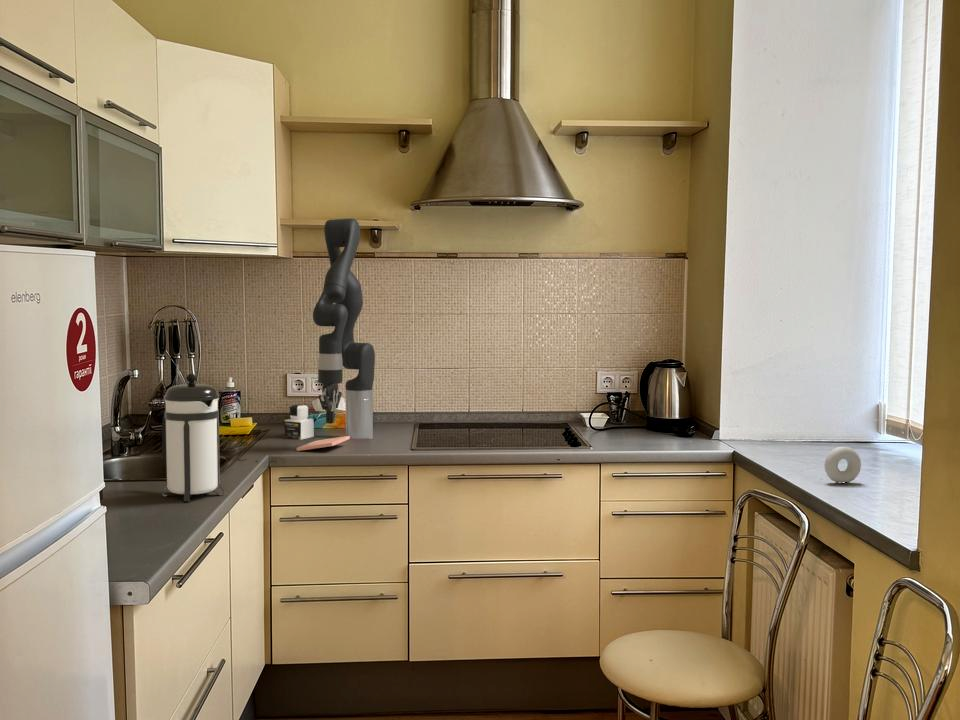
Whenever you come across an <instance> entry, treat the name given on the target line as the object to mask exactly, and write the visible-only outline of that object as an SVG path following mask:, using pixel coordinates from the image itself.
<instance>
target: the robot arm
mask: <svg viewBox="0 0 960 720" xmlns="http://www.w3.org/2000/svg"><path fill="white" fill-rule="evenodd" d="M323 228H324V229H323V230H324V233H323V234H324V241H325V245H326V250H327V254H328V258H329V264H330V267H329V269H328V270H327V272H326V275H325V276H324V277H325V278H324V283H323V290H322V292H321V295H320V296H319V298H318V301H317V302H316V304H315V306H314V307H313V308H314V309H313V312H312V320H313V322H314V324H315V325H316V326H318V327H331V328H332V327H334V329H333V331H332V332H330V333H325V334H322V335H321V334H320V336H319V338H318V359H317V370H318V371H317V383H318V384H322V388H321V394H318V397H317V398H318V401H319V403H320V406H321V408H322V410H323V411H324V412H325V422H326V424H328V425H329V424H330V425H331V424H334V423H335V412H336V409H338V408H339V406H340V405H339V404H340V401H341V398H342V395H343V394H342V391H339V384H342V383H343V378H344V377H343V373H344V372H343V368H345V369H346V370H358V373H357V375H356V376H355V377H353V378H352V379H348V380H347V381H346V382H345V390H344V391H345V393H344V394H345V395H344V396H345V436H350V439H352V440H353V439H354V440H360V439H371V440H372V439H373V438H374V433H373V432H374V431H373V430H374V428H373V427H374V426H373V424H374V423H373V420H374V419H373V418H374V417H373V412H374V411H373V410H374V409H373V408H374V406H373V405H374V404H373V400H374V398H373V397H374V396H373V392H374V391H373V390H374V389H373V385H374V383H375V382H374V381H375V366H376V365H375V364H376V363H375V362H376V352H375V348H374V346H373V345H372V344H371V343H369V342H355V338H354V328H355V325H356V322H357V320H358V318H359V317H360V314H361V312H362V309H363V306H364V300H363V291H362V285H361V283H360V281H359V280H358V278H357V276H356V275H355V274H354V273H353V272H352V270H351V269H352V268H351V267H352V264H353V263H354V261H355V260H354V259H355V257H356V253H357V251H358V247H359V246H360V245H359V244H360V241H361V226H360V223H359V222H358V220H357V219H356V218H336V219H335V218H334V219H328V220H326V222H325V223H324V227H323ZM341 248H343V250H342V251H341Z"/></svg>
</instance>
